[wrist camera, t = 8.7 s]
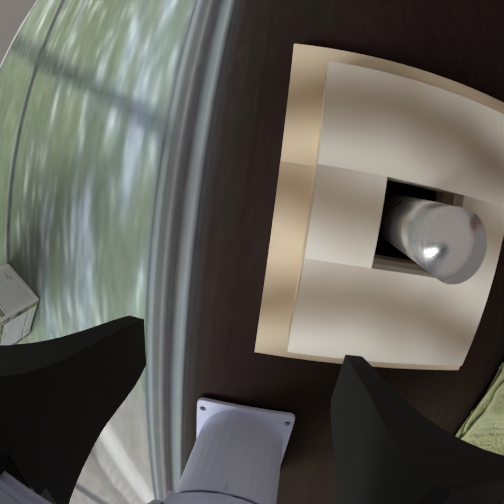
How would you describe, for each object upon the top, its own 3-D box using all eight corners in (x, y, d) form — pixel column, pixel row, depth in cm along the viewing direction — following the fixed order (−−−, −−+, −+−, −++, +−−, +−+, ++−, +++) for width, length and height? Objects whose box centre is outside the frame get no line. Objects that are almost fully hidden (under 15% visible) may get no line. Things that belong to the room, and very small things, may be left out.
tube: (415, 248, 19) (474, 289, 11) (372, 239, 19) (416, 277, 11) (426, 201, 18) (493, 217, 10) (382, 190, 18) (435, 198, 10)
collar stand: (452, 362, 20) (471, 388, 16) (256, 343, 22) (248, 373, 18) (503, 109, 15) (533, 101, 11) (294, 50, 17) (293, 25, 13)
